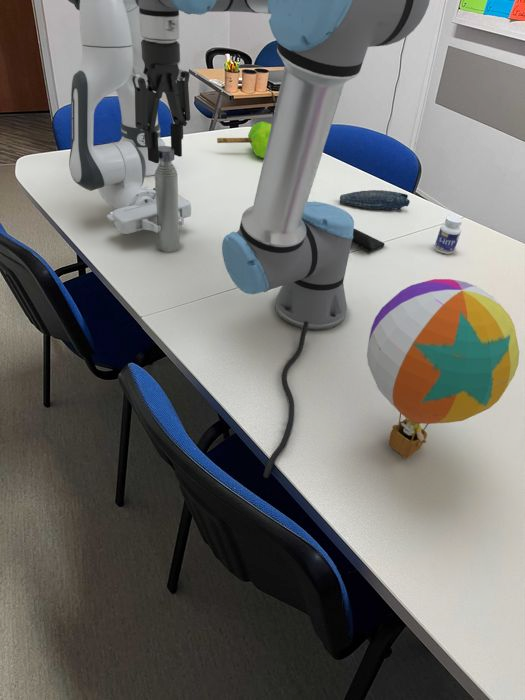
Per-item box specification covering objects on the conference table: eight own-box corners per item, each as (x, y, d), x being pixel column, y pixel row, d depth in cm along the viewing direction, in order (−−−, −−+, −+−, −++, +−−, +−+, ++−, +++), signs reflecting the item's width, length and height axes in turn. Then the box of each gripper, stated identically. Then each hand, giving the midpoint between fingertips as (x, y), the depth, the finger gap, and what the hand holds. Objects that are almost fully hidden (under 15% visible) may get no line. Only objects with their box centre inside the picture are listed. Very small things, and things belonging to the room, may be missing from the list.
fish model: (408, 214, 157) (412, 198, 153) (339, 207, 158) (341, 191, 154) (406, 206, 162) (410, 190, 159) (339, 199, 163) (341, 183, 160)
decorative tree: (214, 118, 187) (294, 118, 193) (214, 147, 194) (292, 146, 199) (220, 132, 174) (307, 132, 179) (220, 164, 180) (304, 162, 185)
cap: (163, 163, 114) (163, 152, 113) (152, 158, 116) (152, 147, 115) (178, 159, 117) (177, 149, 115) (167, 154, 119) (166, 144, 117)
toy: (318, 439, 84) (351, 278, 65) (393, 389, 94) (440, 239, 76) (417, 524, 73) (492, 360, 54) (489, 457, 83) (573, 301, 65)
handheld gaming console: (388, 238, 139) (380, 215, 131) (377, 260, 138) (367, 239, 130) (351, 229, 145) (341, 207, 137) (340, 251, 144) (328, 230, 136)
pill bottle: (433, 251, 139) (442, 220, 133) (435, 243, 143) (444, 213, 137) (453, 256, 138) (464, 225, 132) (454, 247, 142) (465, 217, 136)
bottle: (159, 252, 128) (154, 156, 113) (157, 243, 132) (152, 148, 117) (180, 251, 129) (178, 156, 114) (178, 241, 133) (175, 148, 118)
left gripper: (101, 202, 126) (131, 224, 118) (172, 186, 137) (203, 204, 130) (104, 227, 130) (133, 248, 122) (173, 208, 141) (203, 227, 134)
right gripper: (134, 46, 94) (143, 172, 109) (208, 39, 106) (207, 153, 121) (108, 39, 98) (120, 162, 112) (182, 33, 110) (184, 145, 124)
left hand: (170, 225), depth 126 cm, fingers closed on bottle, 5 cm apart
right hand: (165, 157), depth 116 cm, fingers open, 6 cm apart
